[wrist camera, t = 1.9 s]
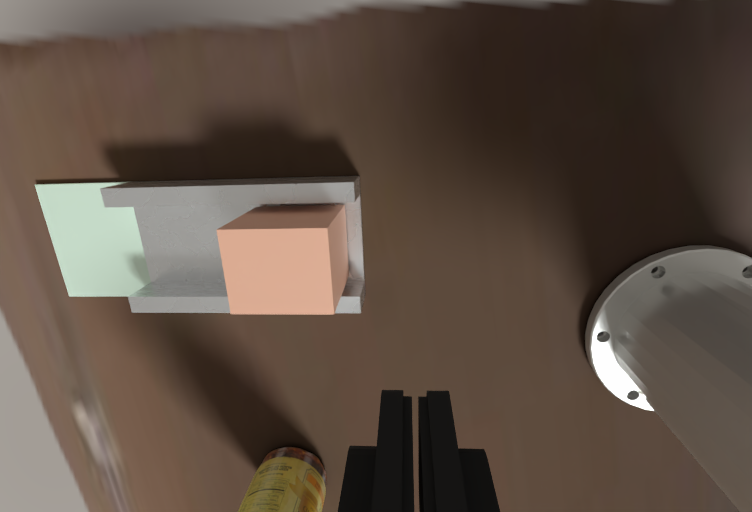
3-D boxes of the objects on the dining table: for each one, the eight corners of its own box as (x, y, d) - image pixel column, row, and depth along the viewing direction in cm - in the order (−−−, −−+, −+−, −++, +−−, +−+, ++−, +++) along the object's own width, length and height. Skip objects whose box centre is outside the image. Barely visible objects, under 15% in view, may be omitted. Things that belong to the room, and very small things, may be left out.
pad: (131, 181, 28) (128, 182, 27) (157, 294, 30) (155, 296, 30) (38, 184, 28) (34, 184, 28) (72, 294, 31) (69, 296, 31)
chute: (359, 175, 26) (353, 182, 24) (365, 294, 29) (360, 313, 26) (131, 181, 28) (99, 188, 25) (157, 294, 30) (131, 312, 28)
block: (344, 204, 26) (327, 227, 21) (349, 275, 28) (334, 314, 22) (256, 206, 27) (216, 229, 21) (266, 275, 28) (230, 314, 23)
